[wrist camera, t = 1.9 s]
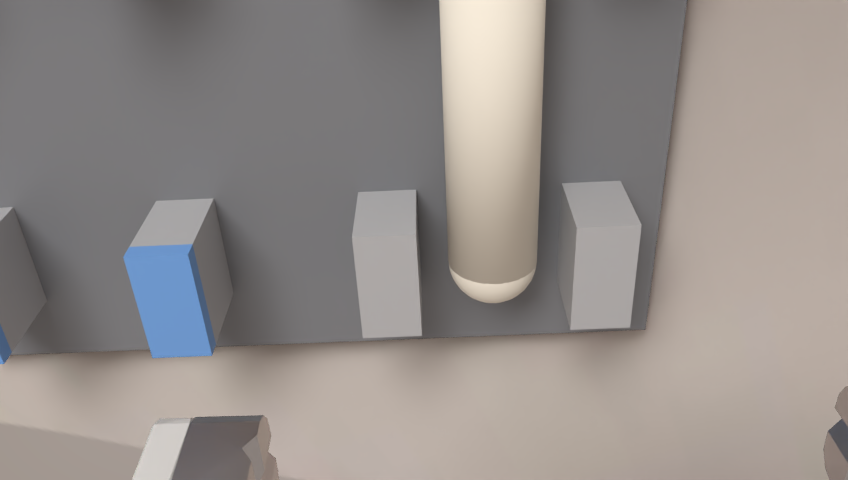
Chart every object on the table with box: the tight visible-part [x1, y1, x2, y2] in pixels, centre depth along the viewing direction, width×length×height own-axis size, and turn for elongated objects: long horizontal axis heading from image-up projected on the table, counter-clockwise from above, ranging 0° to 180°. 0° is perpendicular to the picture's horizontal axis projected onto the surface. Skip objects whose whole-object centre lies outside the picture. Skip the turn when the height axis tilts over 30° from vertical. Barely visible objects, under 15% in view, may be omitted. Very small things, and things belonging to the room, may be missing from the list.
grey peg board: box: [0, 0, 687, 364], centre depth 23 cm, size 26×22×6 cm
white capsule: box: [439, 0, 546, 303], centre depth 24 cm, size 16×3×3 cm, turn 3°
